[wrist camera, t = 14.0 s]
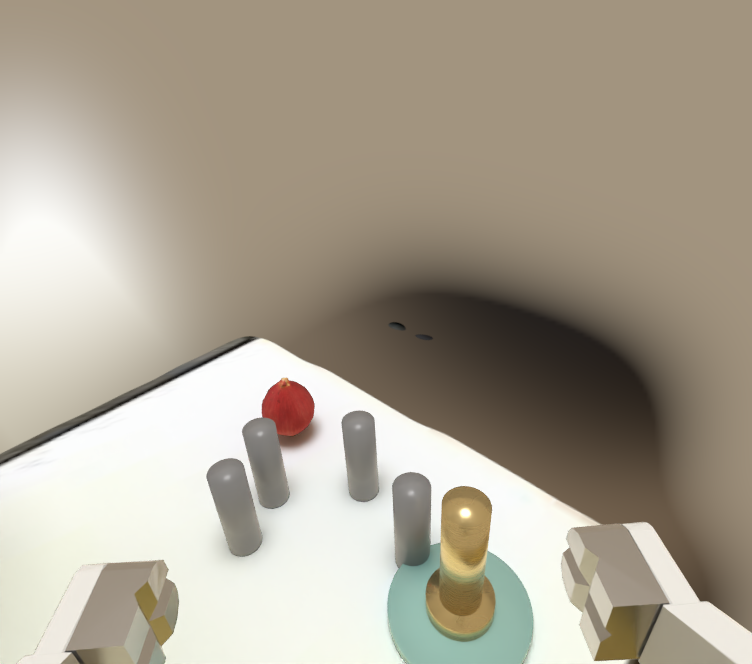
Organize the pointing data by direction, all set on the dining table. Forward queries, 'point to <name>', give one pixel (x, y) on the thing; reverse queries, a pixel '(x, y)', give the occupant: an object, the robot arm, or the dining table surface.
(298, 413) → the pomegranate
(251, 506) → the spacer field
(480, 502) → the bolt
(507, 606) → the saucer
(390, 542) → the dining table surface
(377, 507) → the dining table surface
